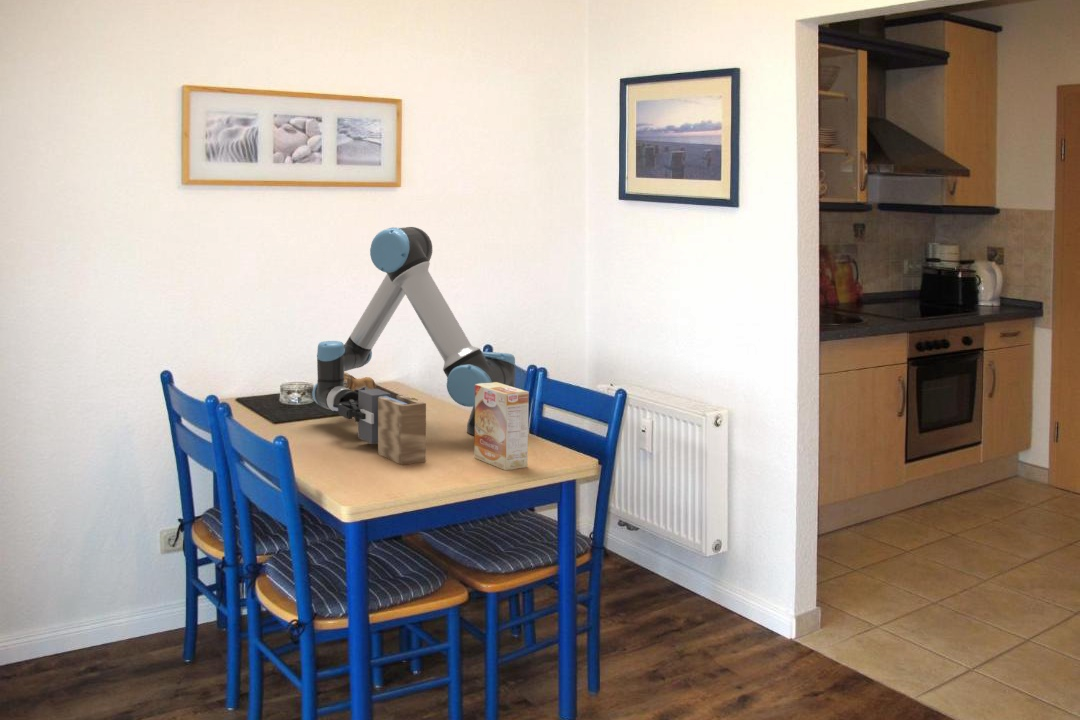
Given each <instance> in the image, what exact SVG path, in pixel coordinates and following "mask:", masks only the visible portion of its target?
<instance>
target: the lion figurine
mask: <svg viewBox="0 0 1080 720" xmlns="http://www.w3.org/2000/svg"><path fill="white" fill-rule="evenodd" d="M344 387H345V388H348V389H350V390H353V391H355V392H356V391H358V390H363V388H364V390H367V389H377V386H376V383H375V381H374V379H373V378H372V377H370V376H369V377H368V376H365V377H361V378H356V377H354V376H353V375H351V374H349V373H348V372H347V371H344Z"/></svg>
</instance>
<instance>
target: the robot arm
mask: <svg viewBox="0 0 1080 720" xmlns="http://www.w3.org/2000/svg"><path fill="white" fill-rule="evenodd" d="M432 255H433V242H432V240H431V238H430V236H429V235H428V233H426V231H424V230H423V229H421V228H419V227H415V226H407V227H389V228H386V229H383V230H381V231H380V232H378V233H376V234H375V236H374V237H373V238H372V241H371V244H370V249H369V256H370V258H371V261H372V263H373V265H374V266H375V268H377V269H378V271H382V272H383V273H386V274H385V276H384V278H383V280H382V281H381V283H380V285H379V287H378V288H377V290H376V292H375V293H374V295H373V297H372V298H371V300H370V301H369V303H368V305H367V307H366V309H364V311H363V313H362V314H361V317H360V318H359V320H358V322H357V324H356V325H355V327H354V328H353V330H352V332H351V334H350V335H349V337H348V338H347V340H346V341H345V343H344V342H342V341H338V340H324V341H321V342H319V343H318V344H317V353H316V360H317V362H316V364H317V366H316V367H317V368H316V369H317V373H316V374H317V379H316V380H317V382H316V383H315V385H314V387H313V389H312V390H311V391H312V392H311V393H312V399H313V401H314V402H315V403H316V405H319V406H320V407H321V408H323V409H327V410H330V411H331V412H332V413H333V414H335V415H338V416H341V417H343V418H345V419H348V420H352V419H354V421H355V422H359V421H360V419H361V420H363V421H365V422H368V423H370V424H374V413H371V412H369V411H366V410H364V409H359V408H358V392H357V391H356V390H355V391H353V390H350V389H348V388H345V387H344V372H347V371H350V370H351V371H352V370H354V369H360V368H362V367H364V366H366V365H367V364H369V362H370V361H371V359H372V356H373V348H374V346H375V344H376V343H377V341H378V340H379V338H380V336H381V335H382V333H383V331H384V330H385V328H386V326H387V325H388V324H389V322H390V320H391V318H392V317H393V315H394V314H395V312H396V310H397V309H398V307H399V306H400V304H401V302H403V301H402V300H403V298H404V297H405V296H406V298H407V299H408V301H409V303H410V304H411V307H412V308H413V310H414V311H415V313H416V315H417V317H418V318H419V321H421V324H422V325H423V327H424V329H425V330H426V332H427V334H428V336H429V337H430V339H431V341H432V342H433V344H434V346H435V348H436V349H437V351H438V353H439V354H440V357H441V358H442V359H443V367H442V371H443V373H444V374H445V376H446V390H447V393H448V395H449V397H450V398H451V399H452V400H453V401H454V402H455V403H456V404H459V405H460V406H462V407H463V406H464V407H467V408H468V407H469V408H471V412H470V415H469V418H468V419H467V420H468V421H467V424H466V425H467V426H466V433H468V434H469V435H472V436H475V384H480V383H493V382H498V383H501V384H505V385H508V386H511V387H515V388H516V367H517V366H516V357H515V356H514V355H513V353H509V352H508V353H507V352H491V351H482V350H481V348H480V347H476V346H473V345H472V344H471V342H470V340H469V338H468V336H466V334H465V332H464V330H463V328H462V327H461V325H460V323H459V321H458V320H457V318H456V317H455V315H454V313H453V311H452V309H451V308H450V306H449V304H448V303H447V301H446V299H445V298H444V295H443V294H442V293H441V290H440V289H439V287H438V285H437V284H436V282H435V280H434V279H433V277H432V275H431V273H430V272H429V268H430V264H431V263H430V262H431V259H432Z"/></svg>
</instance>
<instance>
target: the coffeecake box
mask: <svg viewBox="0 0 1080 720" xmlns="http://www.w3.org/2000/svg"><path fill="white" fill-rule="evenodd" d="M529 398H530V391H528V390H524V389H521V388H518V387H516V386H515V387H511V386H508V385H505V384H501V383H498V382H493V383H480V384H475V435H474V449H473V450H474V451H473V452H474V453H473V455H474V456H473V459H476V460H479V461H481V462H483V463H486V464H488V465H491V466H494V467H496V468H498V469H501V470H503V471H511V470H512V471H513V470H516V469H525V468H528V461H529V460H528V456H529V455H528V454H529V453H528V451H529V448H528V446H529V445H528V444H529V405H530V404H529Z"/></svg>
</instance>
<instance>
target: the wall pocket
mask: <svg viewBox="0 0 1080 720" xmlns="http://www.w3.org/2000/svg"><path fill="white" fill-rule="evenodd" d="M395 397H396V398H395V399H396V400H399V401H402V402H404V403H407V404H405V405H404V404H401V403H399V402H396V401H393V400H391V399H388V398H385V397H378V443H377V453H378V455H379V456H381V457H383V458H386V459H387V460H390V461H392V462H393V463H397V464H399V465H401V466H405V465H410V464H417V463H425V462H426V461H427V456H426V455H427V453H426V452H427V448H426V447H427V403H425V402H422V401H421V400H418V399H417V400H418V401H417V400H414V399H412V398H413V397H411V398H410V397H408V396H406V395H404V394H403V395H402V394H399V395H398V394H397V395H395Z"/></svg>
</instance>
